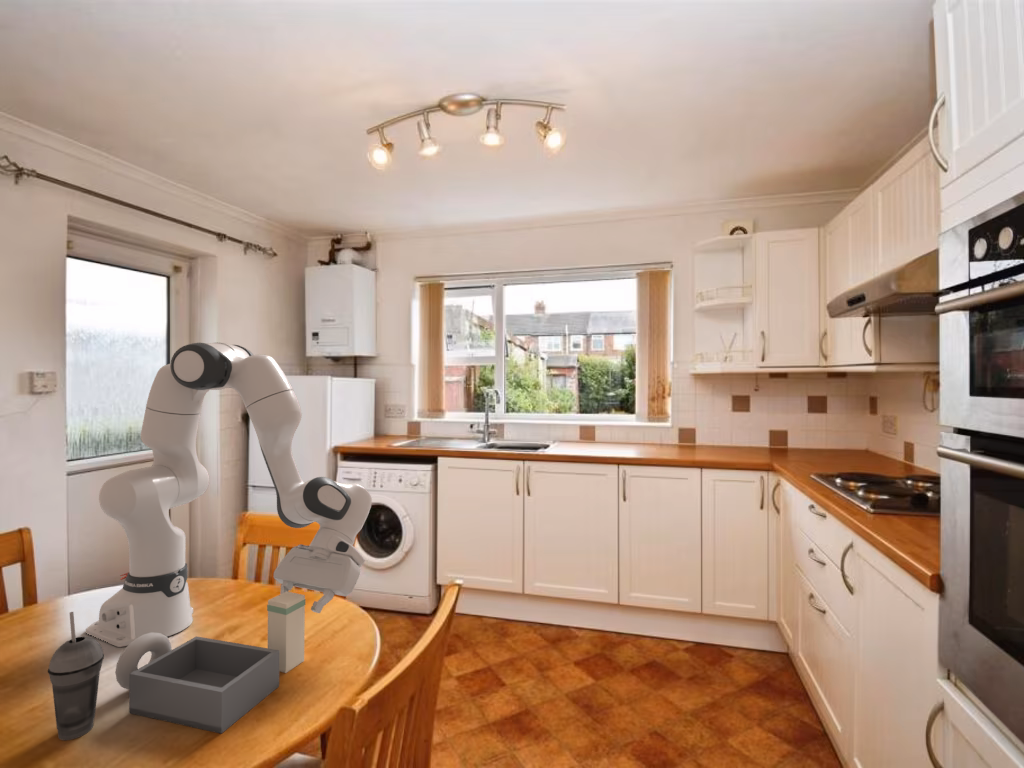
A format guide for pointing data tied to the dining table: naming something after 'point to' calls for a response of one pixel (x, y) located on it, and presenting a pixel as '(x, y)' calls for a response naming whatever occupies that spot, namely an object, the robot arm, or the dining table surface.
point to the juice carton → (287, 628)
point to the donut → (140, 655)
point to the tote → (204, 683)
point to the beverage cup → (75, 684)
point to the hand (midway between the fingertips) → (297, 607)
